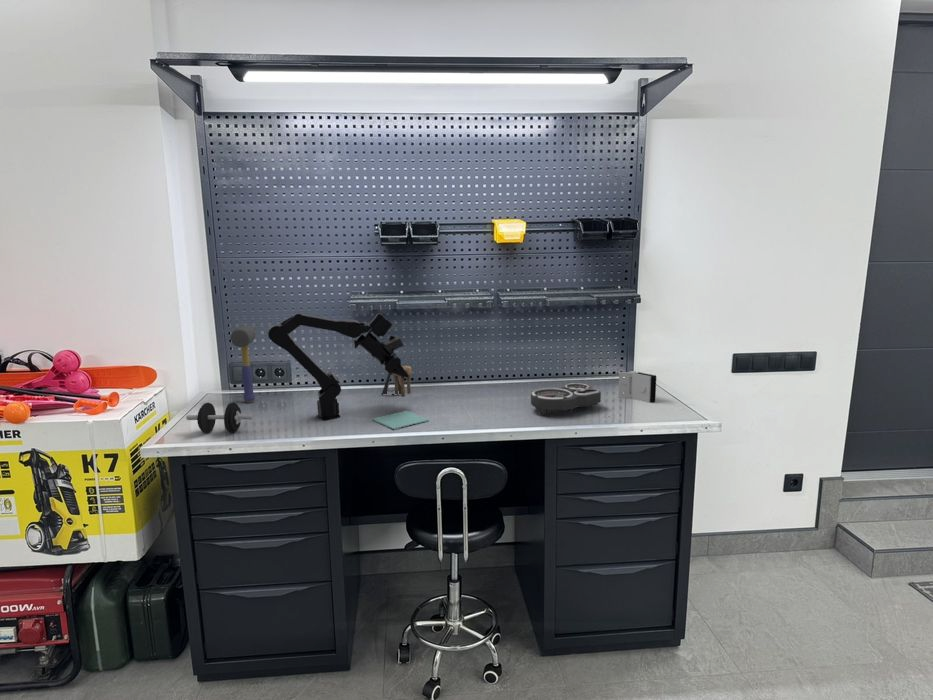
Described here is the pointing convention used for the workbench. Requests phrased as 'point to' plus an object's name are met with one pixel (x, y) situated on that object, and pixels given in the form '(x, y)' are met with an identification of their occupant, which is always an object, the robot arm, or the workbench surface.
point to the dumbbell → (219, 417)
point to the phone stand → (388, 384)
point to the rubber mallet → (245, 357)
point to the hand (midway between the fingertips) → (406, 374)
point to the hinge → (637, 386)
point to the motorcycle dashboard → (565, 398)
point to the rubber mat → (400, 419)
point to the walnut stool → (409, 372)
